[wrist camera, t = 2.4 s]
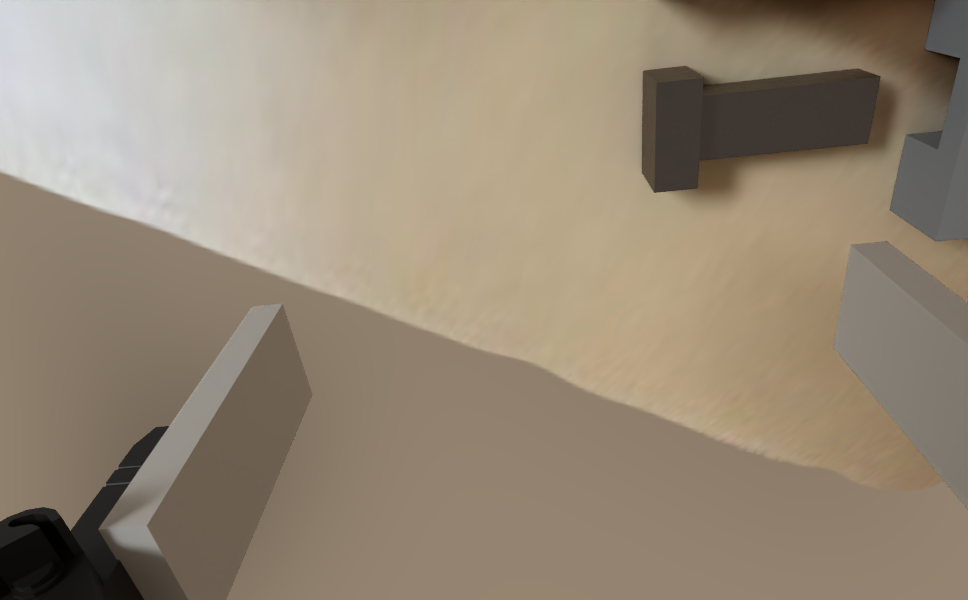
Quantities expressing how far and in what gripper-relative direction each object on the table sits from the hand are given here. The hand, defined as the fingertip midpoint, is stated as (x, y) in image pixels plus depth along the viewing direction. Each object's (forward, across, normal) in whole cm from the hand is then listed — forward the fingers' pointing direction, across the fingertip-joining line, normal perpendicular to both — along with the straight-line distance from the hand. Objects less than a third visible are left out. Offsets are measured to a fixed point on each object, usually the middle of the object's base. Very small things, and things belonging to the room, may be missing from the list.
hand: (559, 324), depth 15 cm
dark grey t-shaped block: (+19, +11, -1) cm, 21 cm away
